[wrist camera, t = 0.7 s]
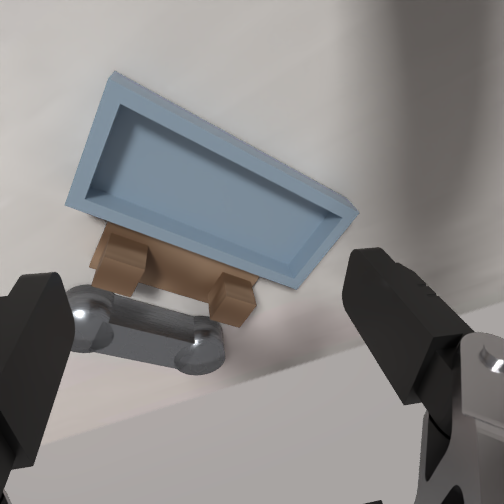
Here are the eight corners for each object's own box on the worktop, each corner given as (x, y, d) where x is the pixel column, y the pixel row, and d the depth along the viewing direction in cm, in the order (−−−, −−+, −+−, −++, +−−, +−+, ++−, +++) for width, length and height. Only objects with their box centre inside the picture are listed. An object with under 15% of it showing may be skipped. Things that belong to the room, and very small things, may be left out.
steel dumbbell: (70, 277, 30) (59, 306, 27) (229, 323, 37) (234, 349, 34) (55, 315, 32) (43, 345, 30) (208, 351, 39) (210, 379, 36)
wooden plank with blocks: (110, 215, 27) (101, 243, 24) (258, 270, 33) (267, 299, 30) (90, 261, 29) (80, 293, 26) (233, 305, 35) (238, 335, 32)
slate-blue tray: (114, 70, 22) (108, 78, 20) (347, 198, 30) (359, 212, 28) (73, 189, 25) (64, 205, 23) (289, 272, 34) (296, 289, 32)
